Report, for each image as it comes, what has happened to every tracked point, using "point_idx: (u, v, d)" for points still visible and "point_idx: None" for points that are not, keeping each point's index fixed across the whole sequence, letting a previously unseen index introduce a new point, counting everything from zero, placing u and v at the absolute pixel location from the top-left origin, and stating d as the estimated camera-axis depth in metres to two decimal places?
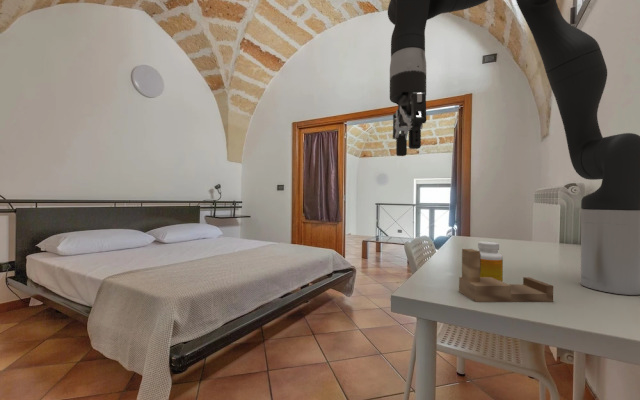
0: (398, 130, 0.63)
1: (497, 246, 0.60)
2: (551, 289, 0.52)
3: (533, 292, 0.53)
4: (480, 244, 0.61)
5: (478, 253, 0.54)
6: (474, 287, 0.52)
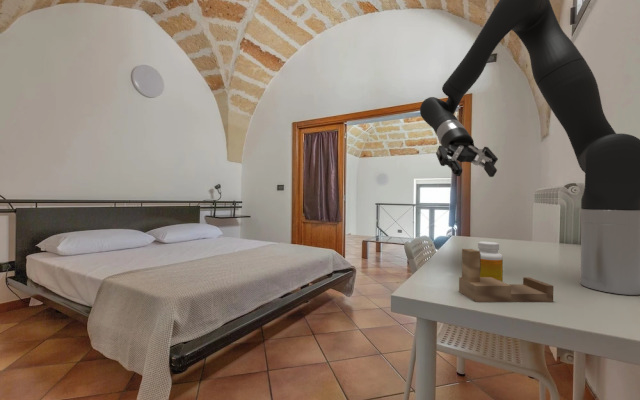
0: (478, 163, 0.74)
1: (497, 246, 0.60)
2: (551, 289, 0.52)
3: (533, 292, 0.53)
4: (480, 244, 0.61)
5: (478, 253, 0.54)
6: (474, 287, 0.52)
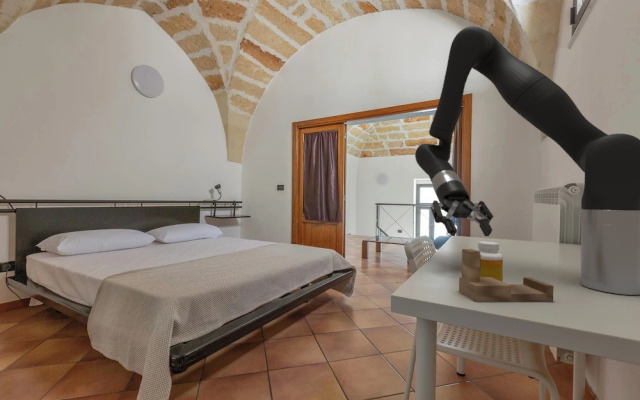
0: (473, 219, 0.73)
1: (497, 246, 0.60)
2: (551, 289, 0.52)
3: (533, 292, 0.53)
4: (480, 244, 0.61)
5: (478, 253, 0.54)
6: (474, 287, 0.52)
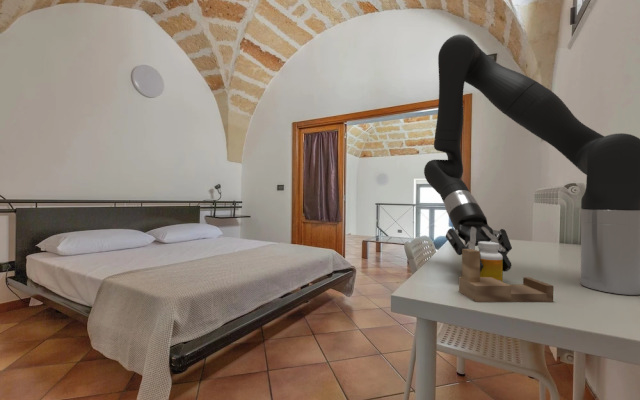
0: None
1: (497, 246, 0.60)
2: (551, 289, 0.52)
3: (533, 292, 0.53)
4: (480, 244, 0.61)
5: (478, 253, 0.54)
6: (474, 287, 0.52)
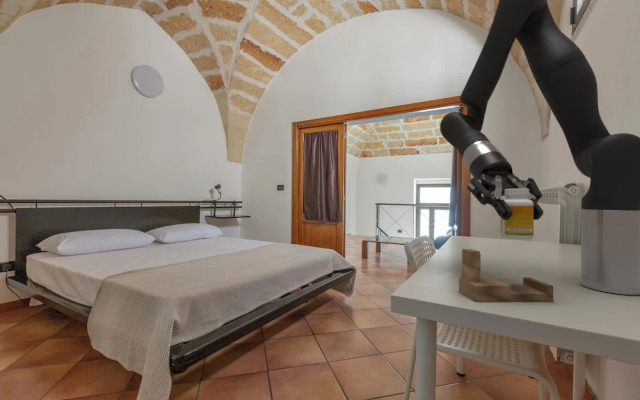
0: None
1: (527, 191, 0.54)
2: (551, 289, 0.52)
3: (533, 292, 0.53)
4: (507, 190, 0.55)
5: (478, 253, 0.54)
6: (474, 287, 0.52)
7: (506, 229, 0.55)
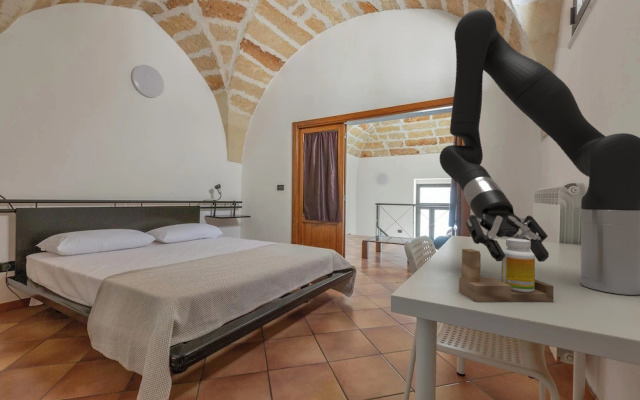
0: None
1: (529, 243, 0.53)
2: (551, 289, 0.52)
3: (533, 292, 0.53)
4: (509, 241, 0.55)
5: (478, 253, 0.54)
6: (474, 287, 0.52)
7: (507, 281, 0.54)
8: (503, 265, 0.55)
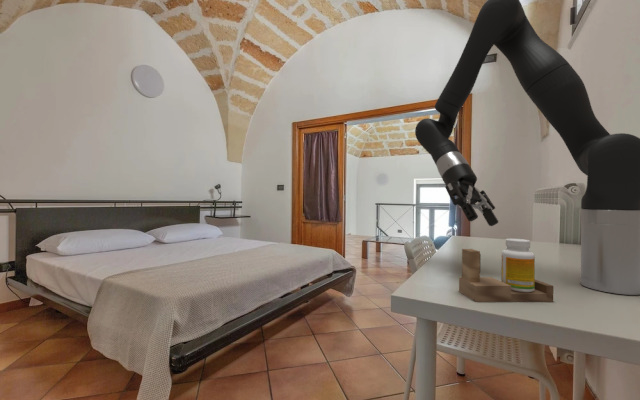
0: (477, 207, 0.72)
1: (528, 243, 0.53)
2: (551, 289, 0.52)
3: (533, 292, 0.53)
4: (509, 241, 0.55)
5: (478, 253, 0.54)
6: (474, 287, 0.52)
7: (507, 281, 0.54)
8: (503, 265, 0.55)
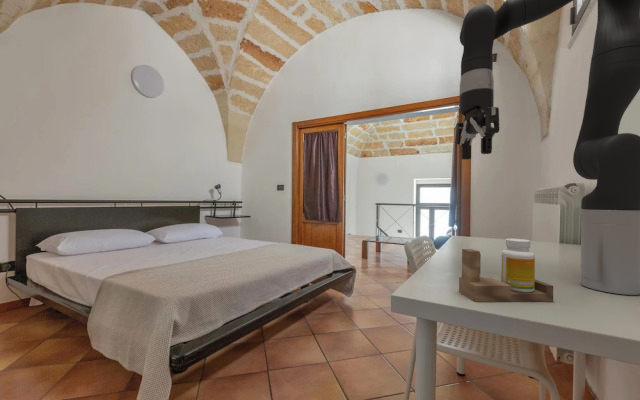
0: (464, 137, 0.73)
1: (529, 243, 0.53)
2: (551, 289, 0.52)
3: (533, 292, 0.53)
4: (509, 241, 0.55)
5: (478, 253, 0.54)
6: (474, 287, 0.52)
7: (507, 281, 0.54)
8: (503, 265, 0.55)
